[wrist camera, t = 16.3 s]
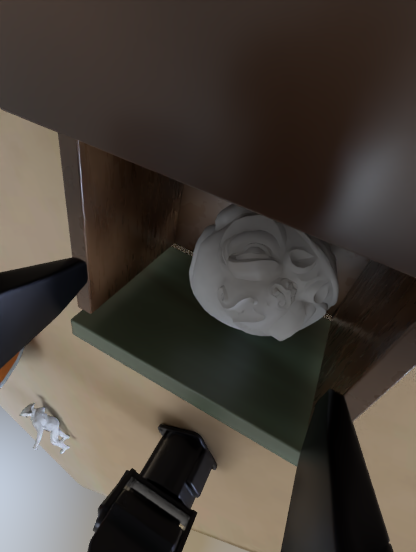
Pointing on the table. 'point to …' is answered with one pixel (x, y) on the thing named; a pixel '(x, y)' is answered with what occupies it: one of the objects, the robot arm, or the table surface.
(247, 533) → the table surface
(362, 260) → the drawer
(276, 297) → the white carved sculpture
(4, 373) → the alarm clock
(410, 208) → the cabinet
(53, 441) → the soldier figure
